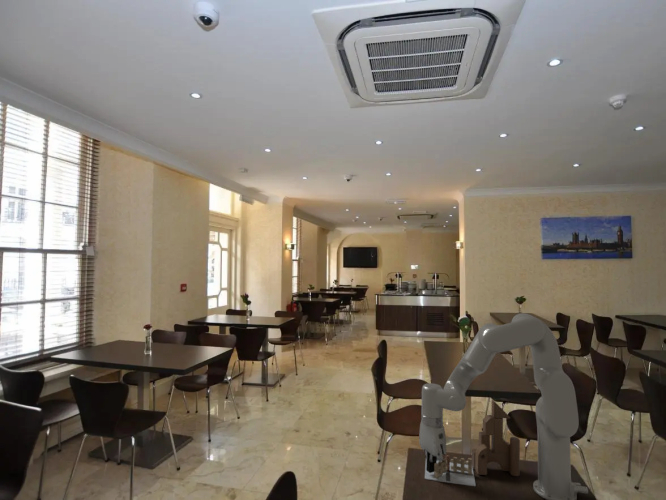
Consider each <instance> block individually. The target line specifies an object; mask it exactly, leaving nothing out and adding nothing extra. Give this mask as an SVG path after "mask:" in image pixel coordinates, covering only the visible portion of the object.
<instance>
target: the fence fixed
mask: <svg viewBox="0 0 666 500" xmlns="http://www.w3.org/2000/svg"><path fill="white" fill-rule="evenodd" d="M450 462H451V463H453V466H451V470H453V472H454V473H457V470H459V471H461V474H465V471H466V472H468V475H472V457H468V458H467V460H465V458H464V457H460V459H458V457H456V456H453V458H450ZM457 464H461V467H458V466H457ZM464 465H468V468H466V467H464Z"/></svg>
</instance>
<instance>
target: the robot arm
mask: <svg viewBox="0 0 666 500" xmlns="http://www.w3.org/2000/svg"><path fill="white" fill-rule="evenodd" d="M524 347H529V348H530V352H531V353H530V354H531V358H532V367H533V378H534V379H533V380H534V383H535V385H536V387H537V388H538V389H539V391H540V393H541V396H540V397H539V398H538V399H537V401H536V404H535V419H536V427H537V428H536V430H537V479H536V480H534V481H533V484H532V485H533V486H532V488H533V490H534V492H535V493H536V494H537V495H538V496H539V497H541V498H543V499H545V500H577V498H578V497H577V494H578V493H581V494H587V495H588V494H589V488H588V487H587V486H582V484H581V483H580V482H573V480H572V477H571V476H572V475H571V473H572V472H571V469H572V467H571V465H572V464H571V437H572V436H575V434H577V431H578V428H579V425H580V423H579V411H578V410H579V409H578V403H577V397H576V396H577V395H576V390H575V389H576V388H575V386H574V384H573V381H572V379H571V378H570V376H569V375H567V373H565V372H564V369H563V365H562V359H561V358H562V357H561V353H560V348H559V345H558V341H557V338H556V336H555V335H554V332H553V331H552V330H551V329H550V328H549V327H548V325H547V324H546V323H545V322H544V321H542V320H541V319H540V318H538V317H536V316H534V315H532V314H529V313H524V312H523V313H522V312H521V313H517V314H516V315H514V316H513V317H512V319H511V321H510V322H509V323H505V324H500V325H498V324H495V323H492V322H491V323H485V324H483V325H482V326H481V327H480V328H479V330H478V331H477V333H476V335H474V338H473V340H472V341H471V343H470V345H469V346H468V348H467V350H466V351H465V353H464V354H463V356H462V358H461V359H460V360H459V362H458V363H457V364H456V366H455V368H454V369H453V371H452V372H451V374H450V376H449V377H448V378H447V381H446V382H445V385H444V386H443V387H442V386H441V385H440V384H437V383H434V382H433V383H430V382H429V383H424V384H423V385H422V387H421V414H420V415H421V421H420V424H419V433H418V434H419V435H418V439H419V441H418V442H419V443H418V444H419V446H420V448H421V450H423V452H424V454H425V460H426V459H427V467H426V470H427V471H428V472H429V473H432V472H434V464H435V463H436V461H442V460H443V458H444V457H443V456H446V455H447V437H446V436H447V435H446V430H445V426H444V410H448V411H451V412H462V410H464V409H465V407H466V405H467V400H466V399H467V398H466V392H467V390H468V389H469V387H470V385H471V384H472V382H473V381H474V380H475V379H476V377H478V376H480V375H482V374H484V373H485V372H486V371H487V370H488V368H489V367H490V365H491V362H492V361H493V359H494V357H495V356H496V354H498V353H503V352H508V351H513V350H516V349H520V348H524Z"/></svg>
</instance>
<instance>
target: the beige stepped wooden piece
mask: <svg viewBox="0 0 666 500" xmlns="http://www.w3.org/2000/svg"><path fill="white" fill-rule="evenodd" d="M450 457H451V456H450V455H448V454H445V458H444V457H443V460H442V461H439V462H438V463H435V464H434V478H436V479H438V478H439V476H442V475H443V473H445V472H446V471H450V462H451V458H450Z"/></svg>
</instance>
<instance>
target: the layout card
mask: <svg viewBox="0 0 666 500" xmlns="http://www.w3.org/2000/svg"><path fill="white" fill-rule="evenodd" d="M438 462H439V461H436V463H438ZM451 466H453V463H451V461H450V471H446V472H445V473H443V475H442V476H439V478H438V479H436V478H434V472H432V473H429V472H428V471H427V470H426V467H427V459H426V458H425V466H424V480H429V481H435V482H442V483H449V484H454V485H455V484H456V485H463V486H464V485H465V486H469V487H477V486H476V485H477V484H476V479H475V474H474V468H473V467H472V475H468V472H466V471H465V474H461V471H459V470H457V473H454V472H453V470H451ZM457 466H458V467H461V464H457ZM464 467H466V468H468V465H464Z"/></svg>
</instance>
